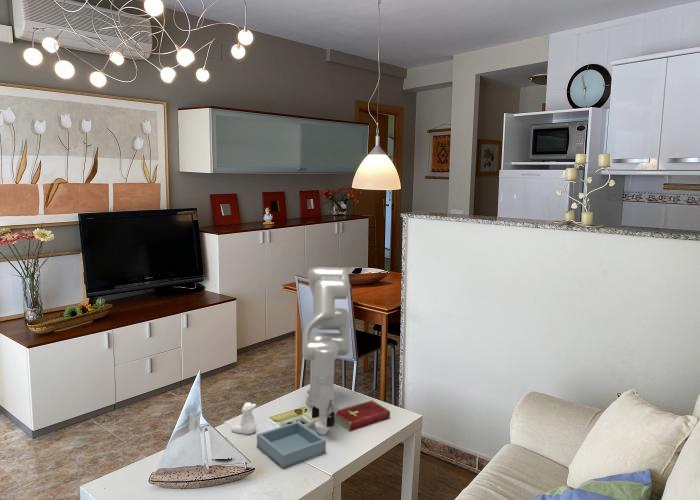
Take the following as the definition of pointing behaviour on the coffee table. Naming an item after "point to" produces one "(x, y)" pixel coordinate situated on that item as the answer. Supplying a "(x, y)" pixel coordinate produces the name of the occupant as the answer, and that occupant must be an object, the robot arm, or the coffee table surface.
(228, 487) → the coffee table surface
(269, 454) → the bin
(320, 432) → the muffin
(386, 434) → the coffee table surface
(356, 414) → the hardcover book
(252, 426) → the white creature statuette
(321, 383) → the robot arm
